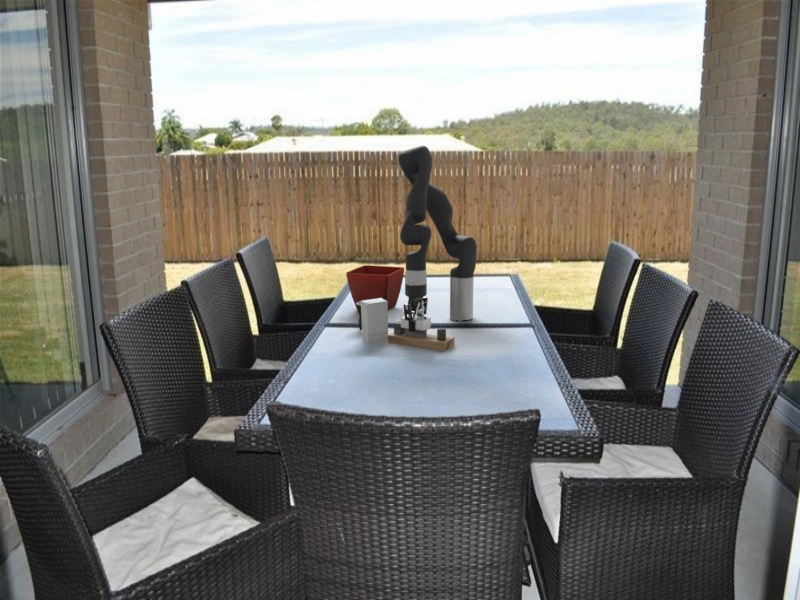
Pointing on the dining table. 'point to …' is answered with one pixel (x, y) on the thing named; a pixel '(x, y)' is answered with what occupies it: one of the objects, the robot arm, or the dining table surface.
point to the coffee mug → (359, 314)
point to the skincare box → (374, 320)
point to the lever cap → (417, 322)
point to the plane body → (420, 338)
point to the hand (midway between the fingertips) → (415, 329)
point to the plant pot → (376, 283)
